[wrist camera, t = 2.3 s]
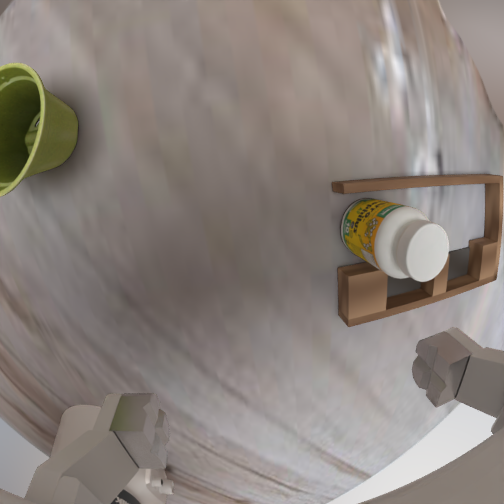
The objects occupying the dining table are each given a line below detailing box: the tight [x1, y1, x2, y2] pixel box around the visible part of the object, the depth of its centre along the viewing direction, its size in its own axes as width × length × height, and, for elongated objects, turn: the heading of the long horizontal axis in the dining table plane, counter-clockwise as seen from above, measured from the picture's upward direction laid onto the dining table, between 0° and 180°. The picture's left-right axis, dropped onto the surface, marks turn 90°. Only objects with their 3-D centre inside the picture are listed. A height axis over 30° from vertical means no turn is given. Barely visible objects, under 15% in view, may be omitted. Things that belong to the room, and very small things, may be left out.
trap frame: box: [332, 174, 503, 327], centre depth 26 cm, size 13×22×2 cm, turn 97°
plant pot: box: [0, 63, 78, 197], centre depth 16 cm, size 9×9×9 cm
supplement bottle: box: [341, 198, 449, 282], centre depth 21 cm, size 5×5×10 cm
